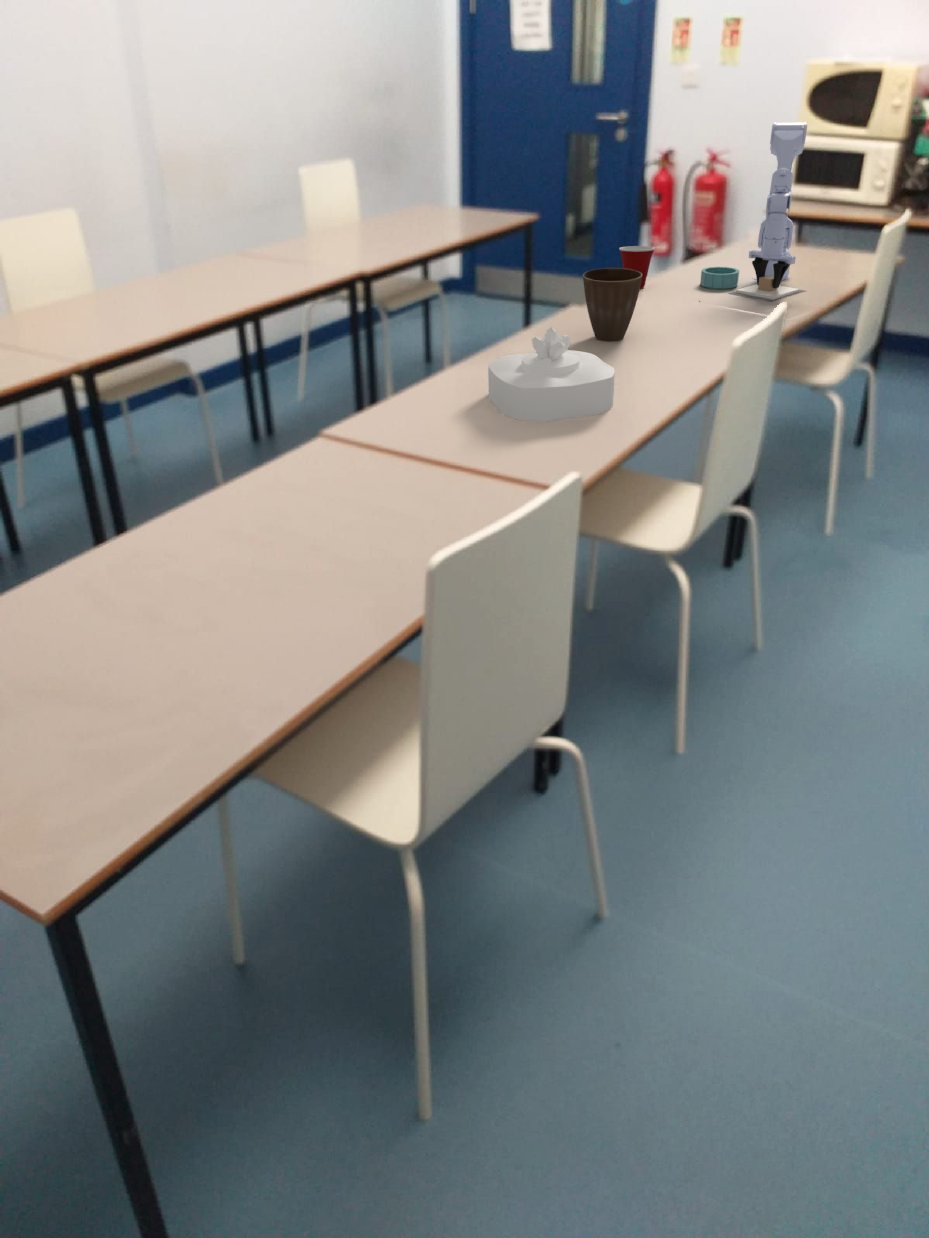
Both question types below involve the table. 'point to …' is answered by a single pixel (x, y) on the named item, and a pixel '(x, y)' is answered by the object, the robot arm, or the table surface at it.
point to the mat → (764, 298)
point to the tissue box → (551, 382)
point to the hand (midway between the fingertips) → (768, 286)
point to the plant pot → (611, 300)
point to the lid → (767, 289)
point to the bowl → (719, 277)
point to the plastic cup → (637, 259)
